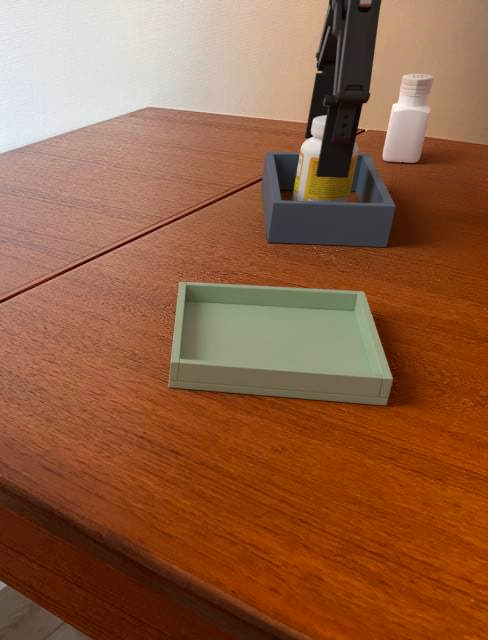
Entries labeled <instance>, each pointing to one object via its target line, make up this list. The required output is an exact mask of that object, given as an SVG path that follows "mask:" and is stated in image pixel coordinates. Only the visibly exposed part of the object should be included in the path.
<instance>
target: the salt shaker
mask: <svg viewBox="0 0 488 640" xmlns="http://www.w3.org/2000/svg"><path fill="white" fill-rule="evenodd" d="M433 83H434V76H433V75H432V74H427V73H408V74H403V76H401V83H400V86H399V91H398V93H399V96H398V100H397V102H395V103H393V104H392V105H391V111H390V114H389V115H390V116H389V121H388V124H387V129H386V136H385V139H384V143H383V144H384V145H383V148H382V149H383V150H382V160H383V161H384V162H388V163H402V162H403V164H415V163H417V162H419V161H420V159H421V155H422V151H423V147H424V142H425V137H426V133H427V129H428V125H429V119H430V116H431V112H432V111H431V109H432V107H431V105H430V104H428V100H429V97H430V94H431V91H432V86H433Z"/></svg>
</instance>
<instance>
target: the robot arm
mask: <svg viewBox="0 0 488 640" xmlns="http://www.w3.org/2000/svg"><path fill="white" fill-rule="evenodd" d="M382 1H383V0H328V6H327V9H326V13H325V18H324V22H323V23H324V24H323V27H322V32H321V35H320V39H319V44H318V49H317V52H316V53H315V58H316V65H315V68H316V71H317V72H315V77H314V82H313V89H312V94H311V100H310V105H309V110H308V117H307V121H306V122H307V123H306V129H305V133H304V134H305V135H304V138H305V140H307V139H309V138H312V137H313V135H312V134H311V128H312V123H313V119H314V118H316V117H319V116H325V115H327V117H326V122H325V128H324V133H323V139H322V144H321V150H320V155H319V161H318V166H317V171H316V176H317V177H337V178H348V174H349V169H350V164H351V159H352V154H353V149H354V144H355V142H356V140H357V134H358V129H359V125H360V119H361V116H362V115H361V114H362V111H363V110H362V109H363V105H364V104H367V103H368V102H369V100H370V98H371V92H370V90H371V89H370V88H371V82H372V74H373V67H374V58H375V51H376V43H377V34H378V27H379V19H380V12H381V6H382Z"/></svg>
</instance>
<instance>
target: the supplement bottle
mask: <svg viewBox="0 0 488 640" xmlns="http://www.w3.org/2000/svg"><path fill="white" fill-rule="evenodd" d="M326 117H327V115H325V116H319V117H316V118H314V119H313V123H312V128H311V134H312V135H313V137H312V138H309V139H305V141H304V142H303V143H302V144H301V147H300V150H299V153H300V155H299V162H298V168H297V174H296V180H295V186H294V190H293V192H292V193H293V194H292V197H291V201H319V202H350V196H351V192H352V191H351V187H352V182H353V177H354V171H355V166H356V162H357V158H358V153H359V151H360V150H359V149H360V148H359V145H358V144H357V142H356V141H355V144H354V149H353V154H352V159H351V164H350V169H349V174H348V178H337V177H317V176H316V171H317V166H318V161H319V155H320V150H321V144H322V139H323V133H324V128H325V122H326Z"/></svg>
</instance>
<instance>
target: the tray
mask: <svg viewBox="0 0 488 640" xmlns="http://www.w3.org/2000/svg"><path fill="white" fill-rule="evenodd" d="M176 300H177V301H176V306H175V307H176V308H175V317H174V326H173V334H172V335H173V337H172V345H171V353H170V362H169V374H168V385H167V387H168V388H169V389H170V388H171V389H182V390H193V391H204V392H205V391H207V392H215V393H216V392H217V393H228V394H229V393H230V394H240V395H241V394H244V395H252V396H253V395H254V396H266V397H277V398H288V399H301V400H314V401H325V402H335V403H336V402H337V403H338V402H339V403H348V404H349V403H350V404H359V405H360V404H361V405H373V406H385V407H386V406H388V401H389V397H390V393H391V389H392V386H393V382H394V377H393V374H392V372H391V368H390V366H389V361H388V360H387V356H386V353H385V349H384V347H383V344H382V342H381V341H382V340H381V338H380V335H379V332H378V329H377V326H376V323H375V319H374V317H373V314H372V313H373V312H372V310H371V307H370V304H369V301H368V299H367V296H366V293H365V291H364V290H349V289H348V290H347V289H345V290H344V289H329V288H328V289H327V288H326V289H325V288H310V287H309V288H308V287H307V288H306V287H290V286H274V285H273V286H272V285H253V284H252V285H251V284H232V283H215V282H214V283H213V282H196V281H195V282H194V281H179V282H178V289H177V298H176Z"/></svg>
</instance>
